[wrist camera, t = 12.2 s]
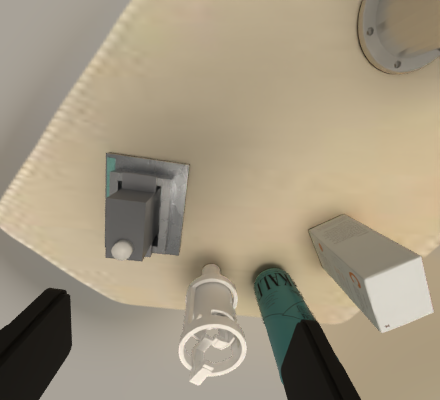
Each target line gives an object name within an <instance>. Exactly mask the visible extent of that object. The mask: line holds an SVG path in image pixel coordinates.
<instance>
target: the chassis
mask: <svg viewBox="0 0 440 400" xmlns="http://www.w3.org/2000/svg"><path fill="white" fill-rule="evenodd" d="M189 166H190V164H183V163H176V162H170V161H163V160H156V159H149V158H143V157H136V156H129V155H122V154H116V153H106V198H107V197H108V196H110V195H112V194H113V193H115V192H117V191H119V190H120V189H122V172H131V173H138V174H146V175H153V176H158V177H157V186H161V199H160V211H159V223H158V232H157V234H156V236H155V238H154V240H153V242H152V253H158V254H170V255H179V252H180V244H181V235H182V226H183V218H184V209H185V201H186V192H187V183H188V175H189ZM105 247H106V203H105Z"/></svg>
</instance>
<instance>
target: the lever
mask: <svg viewBox="0 0 440 400" xmlns="http://www.w3.org/2000/svg"><path fill="white" fill-rule="evenodd" d="M157 177H158V176H153V175H146V174H138V173H131V172H122V189H120V190H119V191H117V192H115V193H113V194H112V195H110V196H108V197H107V198H106V258H114V259H117V260H121V261H122V260H134V261H143V259H144V257H151V255H152V242H153V240H154V238H155V236H156V234H157V232H158V223H159V211H160V199H161V186H157Z"/></svg>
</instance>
